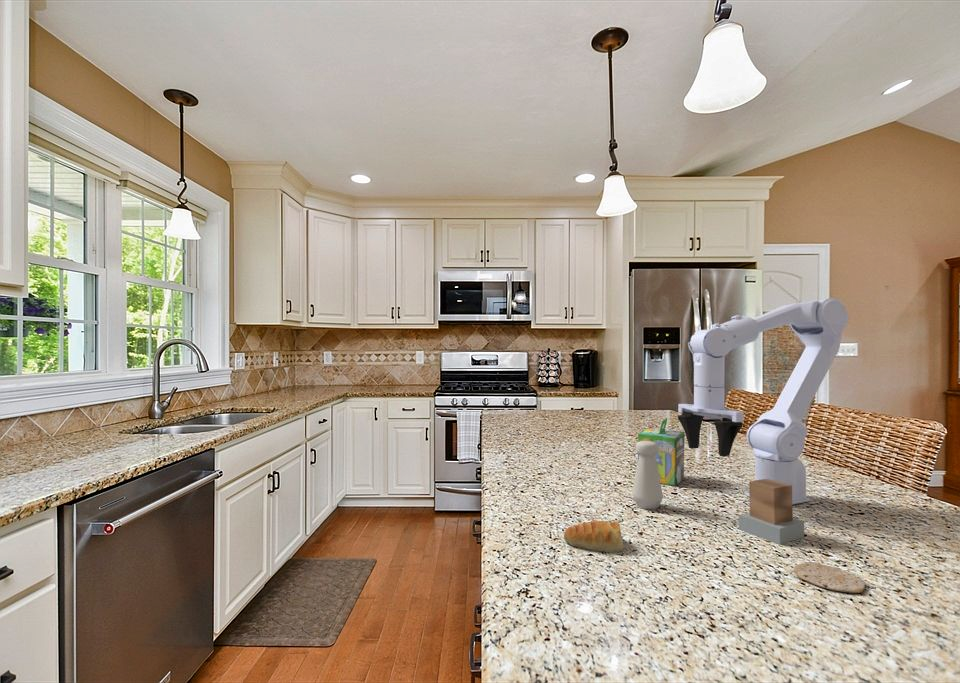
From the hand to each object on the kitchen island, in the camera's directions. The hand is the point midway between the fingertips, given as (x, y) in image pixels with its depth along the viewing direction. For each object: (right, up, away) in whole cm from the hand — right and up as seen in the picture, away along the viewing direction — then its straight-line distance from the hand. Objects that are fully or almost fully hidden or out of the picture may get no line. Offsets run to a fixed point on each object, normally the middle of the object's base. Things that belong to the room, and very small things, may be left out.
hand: (708, 451), depth 96 cm
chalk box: (-3, -11, +17) cm, 20 cm away
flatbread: (+1, -10, -32) cm, 34 cm away
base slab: (+3, -11, -16) cm, 20 cm away
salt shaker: (-14, -11, -3) cm, 18 cm away
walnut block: (+3, -8, -16) cm, 18 cm away
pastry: (-28, -11, -21) cm, 37 cm away
